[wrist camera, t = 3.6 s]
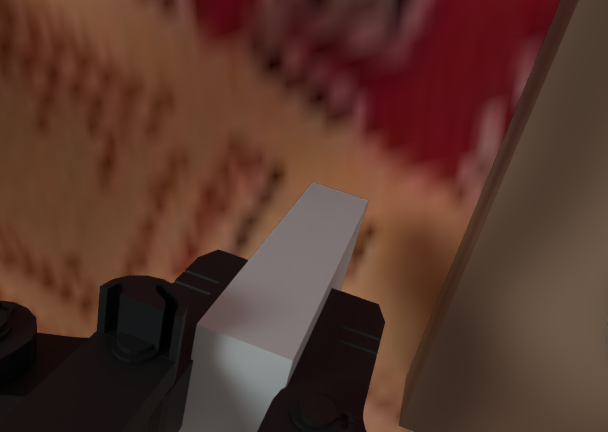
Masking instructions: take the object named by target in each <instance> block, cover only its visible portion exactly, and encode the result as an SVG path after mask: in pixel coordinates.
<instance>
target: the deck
mask: <svg viewBox="0 0 608 432" xmlns="http://www.w3.org/2000/svg"><path fill="white" fill-rule="evenodd" d="M607 319H608V0H560V2H559V5H558V7H557V10H556V12H555V14H554V17H553V19H552V22H551V24H550V27H549V29H548V32H547V34H546V36H545V39H544V41H543V44H542V46H541V49H540V51H539V54H538V56H537V58H536V61H535V63H534V66H533V68H532V71H531V73H530V76H529V78H528V80H527V83H526V85H525V88H524V90H523V93H522V95H521V98H520V100H519V103H518V105H517V107H516V110H515V112H514V115H513V117H512V120H511V122H510V125H509V127H508V129H507V132H506V134H505V137H504V139H503V142H502V144H501V147H500V149H499V151H498V154H497V156H496V159H495V161H494V164H493V166H492V169H491V171H490V173H489V176H488V178H487V181H486V183H485V186H484V188H483V191H482V193H481V196H480V198H479V200H478V203H477V205H476V208H475V210H474V213H473V215H472V218H471V220H470V222H469V225H468V227H467V230H466V232H465V235H464V237H463V240H462V242H461V244H460V247H459V249H458V252H457V254H456V257H455V259H454V262H453V264H452V266H451V269H450V271H449V274H448V276H447V279H446V281H445V284H444V286H443V289H442V291H441V293H440V296H439V298H438V301H437V303H436V306H435V308H434V311H433V313H432V315H431V318H430V320H429V323H428V325H427V328H426V330H425V333H424V335H423V337H422V340H421V342H420V345H419V347H418V350H417V352H416V355H415V357H414V359H413V362H412V364H411V367H410V369H409V372H408V374H407V377H406V382H405V388H404V395H403V402H402V408H401V415H400V421H399V426H401V427H404V428H407V429H409V430H412V431H414V432H608V358H607V355H606V351H605V346H604V331H605V325H606V322H607Z"/></svg>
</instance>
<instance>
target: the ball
mask: <svg viewBox="0 0 608 432" xmlns="http://www.w3.org/2000/svg"><path fill="white" fill-rule="evenodd" d="M604 346H605V351H606V355H607V358H608V319H607V322H606V325H605V331H604Z"/></svg>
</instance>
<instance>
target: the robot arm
mask: <svg viewBox="0 0 608 432" xmlns="http://www.w3.org/2000/svg"><path fill="white" fill-rule="evenodd" d="M368 201H369V200H366V199H363V198H360V197H357V196H354V195H351V194H348V193H345V192H342V191H339V190H335V189H332V188H329V187H326V186H323V185H320V184H317V183H314V182H312V183H311V184H310V186H309V187H308V188H307V189H306V191H305V192H304V193H303V194H302V195H301V197H300V198H299V199H298V200H297V202H296V203H295V204H294V205H293V206H292V208H291V209H290V210H289V211H288V213H287V214H286V215H285V216H284V218H283V219H282V220H281V221H280V222H279V224H278V225H277V226H276V227H275V229H274V230H273V231H272V232H271V234H270V235H269V236H268V237H267V238H266V240H265V241H264V242H263V243H262V245H261V246H260V247H259V248H258V249H257V251H256V252H255V253H254V254H253V256H252V257H251V258H250V259H249V260H246V259H244V258H241V257H238V256H235V255H232V254H229V253H227V252H224V251H221V250H216V251H213V252H211V253H208V254H205V255H203V256H200V257H198V258H197V259H196V260H195V261H194V262H193V263H192V264H191V265H190V266H189V267H188V268H187V269H186V271H185V272H183V273H182V274H181V275H180V276H179V277H178V278H177V279H176V280H175V282H174V283H172V284H171V283H169V282H167V281H166V280H163V279H159V278H155V277H151V276H125V277H121V278H116V279H113V280H111V281H109V282H107V283H105V284H103V285H102V286H100V294H99V309H98V323H97V331H96V332H95V333H94V334H93V335H92V336H91V337H90V338H79V337H67V336H60V335H52V334H44V333H37V323H36V317H35V316H34V315H33V314H32V313H31V311H30V310H29V309H28V308H26V307H23V306H21V305H19V304H17V303H14V302H7V301H0V432H366V430H365V426H364V421H363V410H364V405H365V401H366V397H367V393H368V389H369V385H370V381H371V377H372V373H373V369H374V365H375V361H376V357H377V353H378V349H379V345H380V340H381V337H382V333H383V329H384V325H385V320H384V318H383V315H382V312H381V309H380V307H379V304H376V303H373V302H370V301H367V300H365V299H362V298H359V297H356V296H353V295H351V294H348V293H345V292H342V291H341V289H342V285H343V282H344V279H345V276H346V273H347V269H348V266H349V263H350V260H351V256H352V253H353V250H354V247H355V243H356V240H357V237H358V234H359V230H360V227H361V224H362V221H363V217H364V214H365V211H366V208H367V204H368Z"/></svg>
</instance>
